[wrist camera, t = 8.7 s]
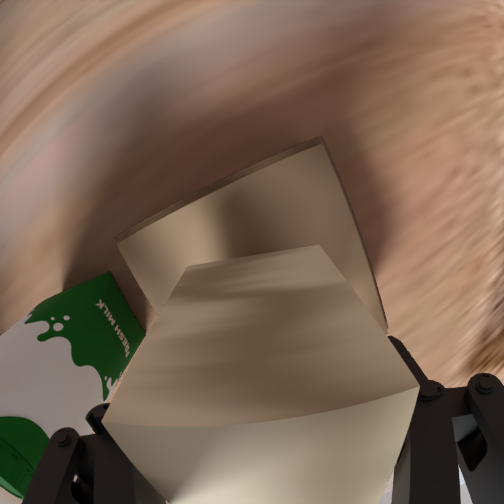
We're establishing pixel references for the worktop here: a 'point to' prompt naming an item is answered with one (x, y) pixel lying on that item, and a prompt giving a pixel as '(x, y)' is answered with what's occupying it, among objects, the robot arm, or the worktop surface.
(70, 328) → the milk carton
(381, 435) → the oak block
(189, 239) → the walnut box
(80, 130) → the worktop surface
